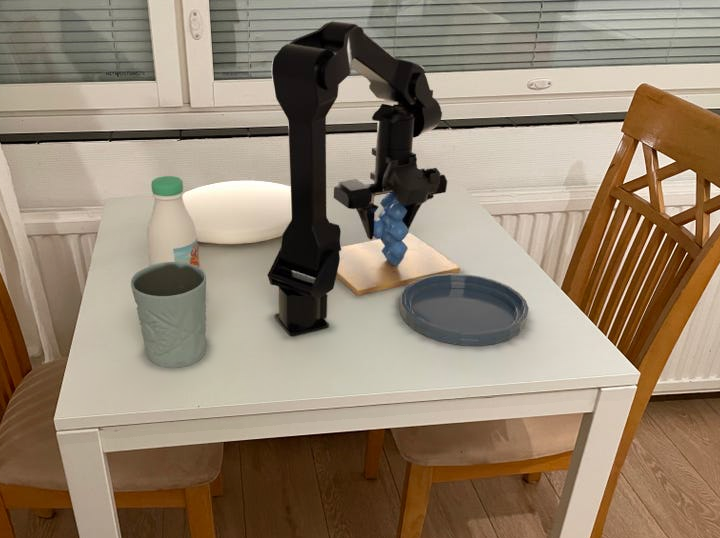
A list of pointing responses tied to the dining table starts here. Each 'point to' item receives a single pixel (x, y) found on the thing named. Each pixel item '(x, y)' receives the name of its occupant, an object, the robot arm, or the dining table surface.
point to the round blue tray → (463, 309)
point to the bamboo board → (389, 265)
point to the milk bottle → (171, 225)
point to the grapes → (392, 229)
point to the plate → (239, 211)
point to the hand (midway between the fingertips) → (387, 235)
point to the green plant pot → (172, 312)
